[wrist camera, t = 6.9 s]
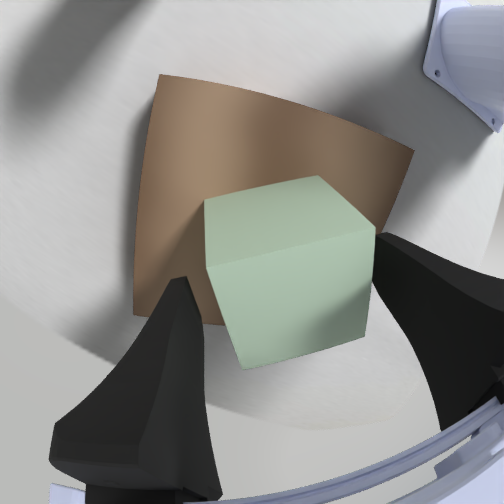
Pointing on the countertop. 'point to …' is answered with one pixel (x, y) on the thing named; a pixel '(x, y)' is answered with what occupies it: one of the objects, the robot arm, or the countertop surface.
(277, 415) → the countertop surface
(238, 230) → the sage cube
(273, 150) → the walnut block
